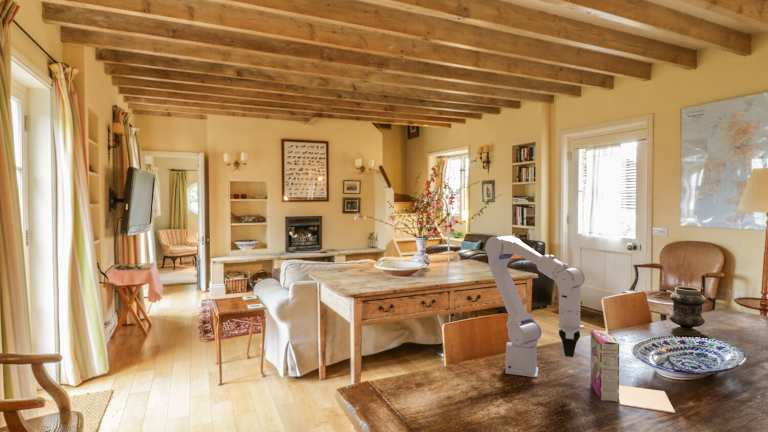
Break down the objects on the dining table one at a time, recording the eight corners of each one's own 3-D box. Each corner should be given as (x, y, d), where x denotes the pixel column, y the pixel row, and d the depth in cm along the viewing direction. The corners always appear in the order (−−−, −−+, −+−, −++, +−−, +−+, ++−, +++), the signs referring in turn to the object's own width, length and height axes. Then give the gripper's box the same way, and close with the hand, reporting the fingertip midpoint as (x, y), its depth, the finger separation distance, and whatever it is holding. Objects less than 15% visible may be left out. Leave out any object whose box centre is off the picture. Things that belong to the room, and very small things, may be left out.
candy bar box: (589, 384, 132) (589, 329, 131) (607, 385, 131) (608, 330, 130) (599, 401, 121) (600, 341, 120) (619, 402, 120) (620, 342, 119)
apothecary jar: (712, 336, 174) (713, 291, 173) (681, 337, 174) (682, 291, 173) (691, 327, 186) (692, 285, 185) (662, 327, 186) (663, 285, 185)
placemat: (620, 405, 118) (620, 404, 118) (614, 385, 130) (614, 384, 130) (675, 413, 114) (675, 412, 114) (664, 392, 126) (664, 391, 126)
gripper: (586, 317, 120) (585, 366, 120) (583, 305, 133) (583, 349, 134) (557, 315, 122) (557, 363, 123) (558, 303, 136) (557, 346, 136)
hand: (569, 356), depth 128 cm, fingers closed
